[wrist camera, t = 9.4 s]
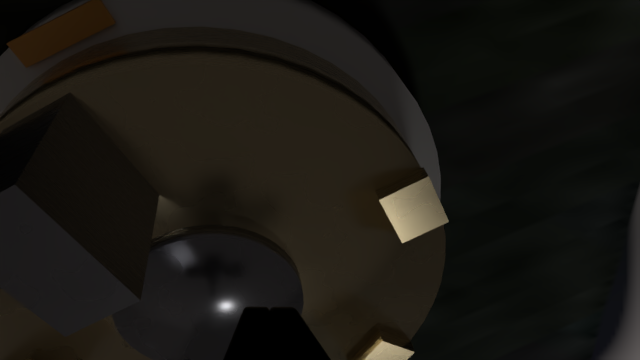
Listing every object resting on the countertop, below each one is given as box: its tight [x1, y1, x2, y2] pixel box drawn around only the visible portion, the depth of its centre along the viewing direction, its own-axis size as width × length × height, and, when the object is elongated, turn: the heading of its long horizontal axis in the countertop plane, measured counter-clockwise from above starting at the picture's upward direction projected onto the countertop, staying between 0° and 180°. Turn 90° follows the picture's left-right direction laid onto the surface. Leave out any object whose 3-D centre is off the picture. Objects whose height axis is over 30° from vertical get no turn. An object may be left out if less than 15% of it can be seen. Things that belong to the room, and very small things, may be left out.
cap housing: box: [0, 0, 441, 200], centre depth 20 cm, size 18×18×2 cm
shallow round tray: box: [0, 26, 449, 360], centre depth 17 cm, size 16×16×7 cm
